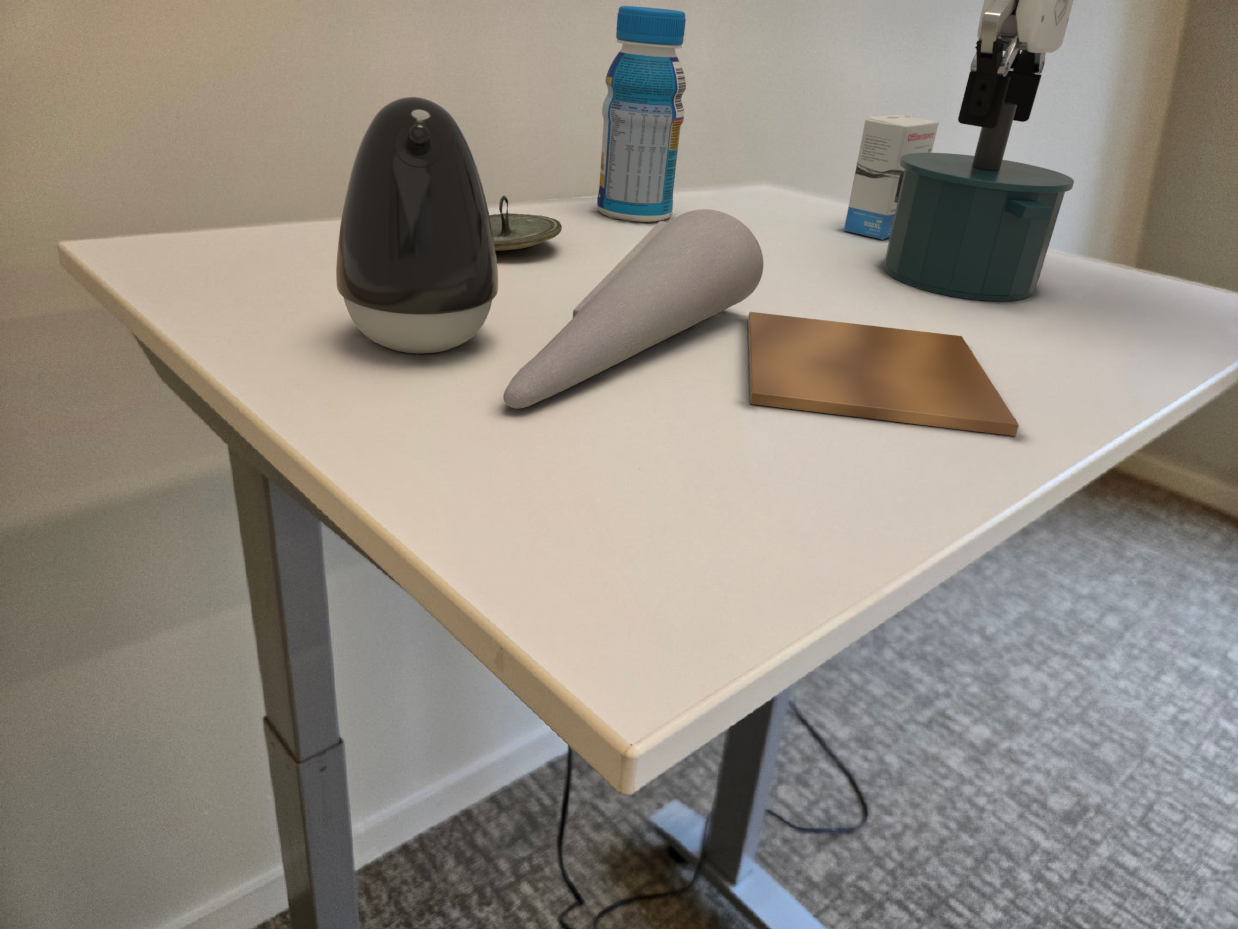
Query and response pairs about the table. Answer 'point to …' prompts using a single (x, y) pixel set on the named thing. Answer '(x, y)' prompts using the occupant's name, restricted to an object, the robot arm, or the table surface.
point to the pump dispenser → (416, 233)
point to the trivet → (872, 374)
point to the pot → (970, 239)
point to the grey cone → (647, 301)
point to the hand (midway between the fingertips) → (993, 122)
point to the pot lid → (989, 164)
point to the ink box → (884, 170)
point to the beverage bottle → (642, 116)
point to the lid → (521, 229)
